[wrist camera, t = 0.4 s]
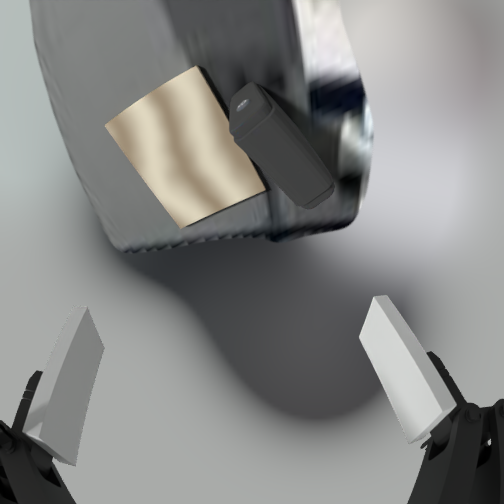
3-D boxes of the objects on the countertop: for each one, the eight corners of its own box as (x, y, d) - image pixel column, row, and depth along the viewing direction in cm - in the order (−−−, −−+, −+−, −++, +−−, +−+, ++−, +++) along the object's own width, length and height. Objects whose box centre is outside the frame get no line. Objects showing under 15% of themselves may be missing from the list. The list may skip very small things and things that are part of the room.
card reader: (224, 98, 29) (219, 137, 18) (251, 76, 27) (266, 98, 16) (276, 150, 34) (301, 219, 23) (301, 131, 32) (342, 190, 21)
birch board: (197, 65, 26) (196, 65, 25) (264, 186, 37) (265, 189, 36) (107, 122, 29) (104, 125, 28) (181, 224, 40) (180, 228, 39)
